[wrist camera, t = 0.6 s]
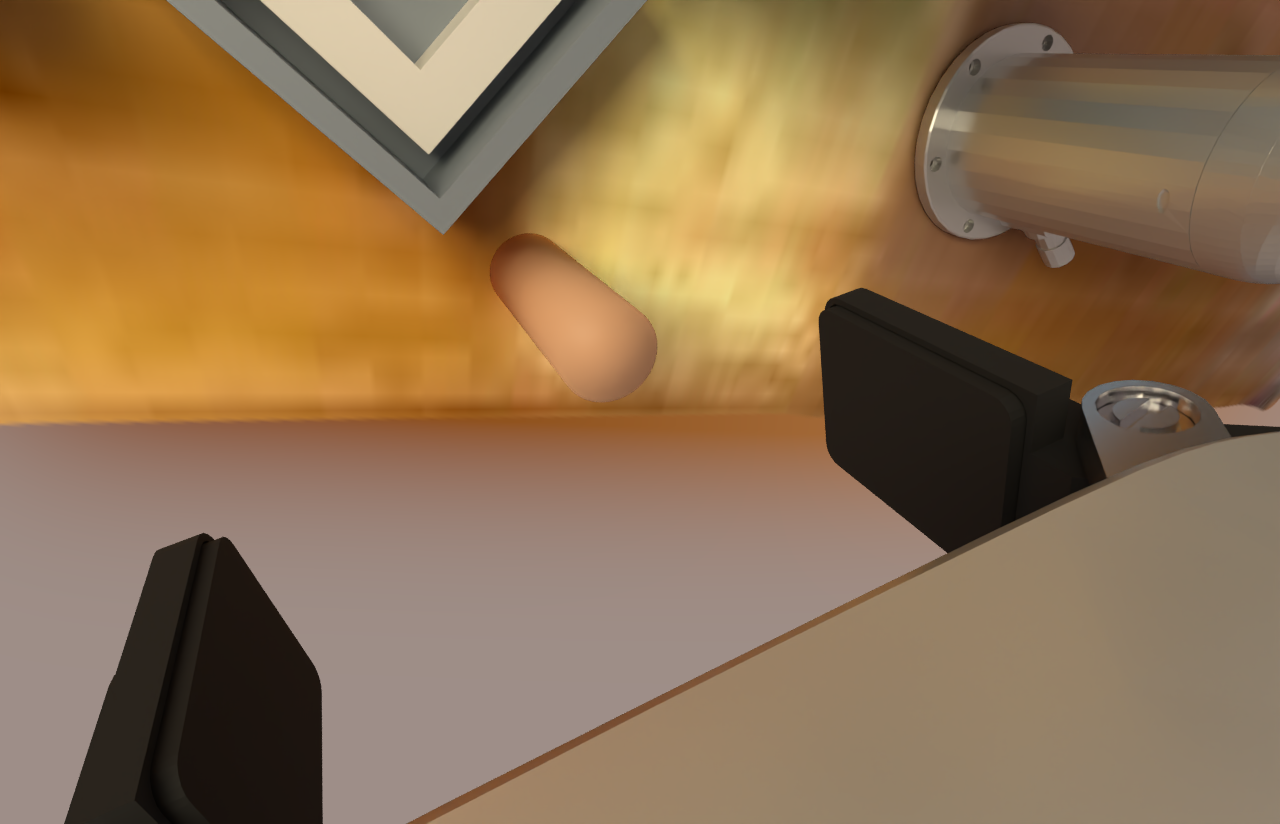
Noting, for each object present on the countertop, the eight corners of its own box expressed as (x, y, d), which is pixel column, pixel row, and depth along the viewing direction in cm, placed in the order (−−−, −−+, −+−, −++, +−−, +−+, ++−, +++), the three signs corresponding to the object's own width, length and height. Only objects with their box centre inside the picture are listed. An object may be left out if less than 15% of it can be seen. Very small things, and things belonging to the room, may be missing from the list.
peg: (579, 267, 38) (676, 345, 28) (530, 323, 38) (608, 420, 28) (526, 216, 35) (610, 282, 26) (473, 276, 36) (537, 363, 26)
